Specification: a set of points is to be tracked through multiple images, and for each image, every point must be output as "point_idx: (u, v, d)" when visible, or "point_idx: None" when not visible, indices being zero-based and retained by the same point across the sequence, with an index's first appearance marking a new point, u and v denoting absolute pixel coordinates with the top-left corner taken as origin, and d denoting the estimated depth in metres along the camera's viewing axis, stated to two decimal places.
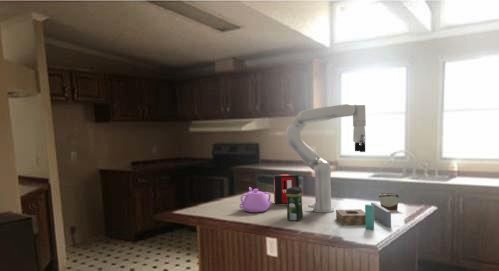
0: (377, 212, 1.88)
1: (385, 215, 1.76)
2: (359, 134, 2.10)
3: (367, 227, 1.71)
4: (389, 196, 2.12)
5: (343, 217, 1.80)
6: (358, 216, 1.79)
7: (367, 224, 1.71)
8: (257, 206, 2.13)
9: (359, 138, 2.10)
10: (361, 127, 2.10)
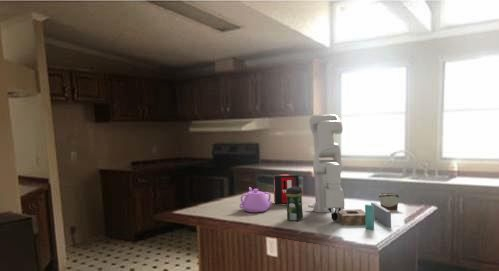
0: (377, 212, 1.88)
1: (385, 215, 1.76)
2: (343, 198, 1.85)
3: (367, 227, 1.71)
4: (389, 196, 2.12)
5: (343, 217, 1.80)
6: (358, 216, 1.79)
7: (367, 224, 1.71)
8: (257, 206, 2.13)
9: None
10: None
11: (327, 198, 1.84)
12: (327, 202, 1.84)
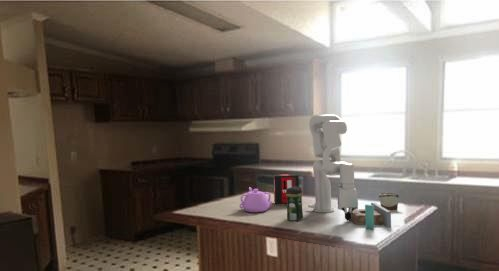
0: None
1: (385, 215, 1.76)
2: (357, 198, 1.84)
3: (367, 227, 1.71)
4: (389, 196, 2.12)
5: (357, 217, 1.79)
6: None
7: (367, 224, 1.71)
8: (257, 206, 2.13)
9: (357, 203, 1.84)
10: None
11: (340, 198, 1.84)
12: (340, 202, 1.84)
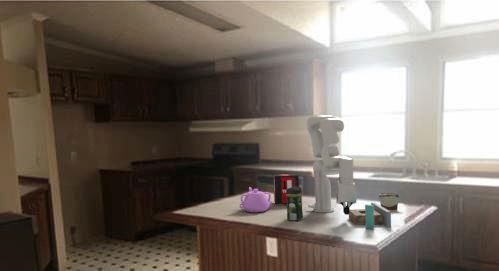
0: None
1: (385, 215, 1.76)
2: None
3: (367, 227, 1.71)
4: (389, 196, 2.12)
5: (357, 217, 1.79)
6: None
7: (367, 224, 1.71)
8: (257, 206, 2.13)
9: (356, 197, 1.85)
10: None
11: (340, 192, 1.84)
12: (340, 196, 1.84)
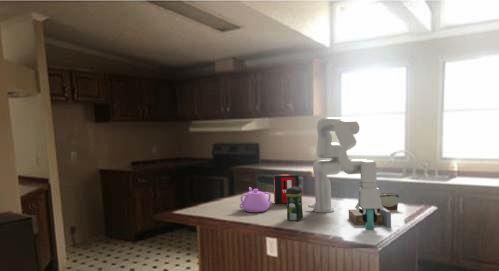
0: None
1: (385, 215, 1.76)
2: None
3: (367, 227, 1.71)
4: (389, 196, 2.12)
5: (357, 217, 1.79)
6: None
7: (367, 224, 1.71)
8: (257, 206, 2.13)
9: None
10: None
11: (362, 198, 1.70)
12: (362, 202, 1.70)
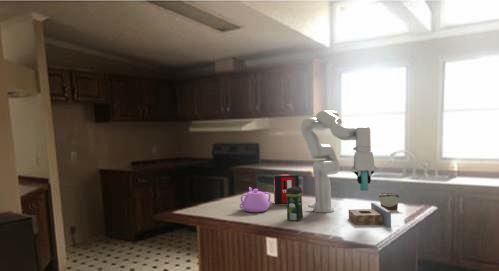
0: None
1: (385, 215, 1.76)
2: (373, 161, 1.84)
3: (362, 188, 1.85)
4: (389, 196, 2.12)
5: (357, 217, 1.79)
6: (372, 216, 1.79)
7: (362, 185, 1.85)
8: (257, 206, 2.13)
9: None
10: None
11: (357, 161, 1.84)
12: (357, 165, 1.84)
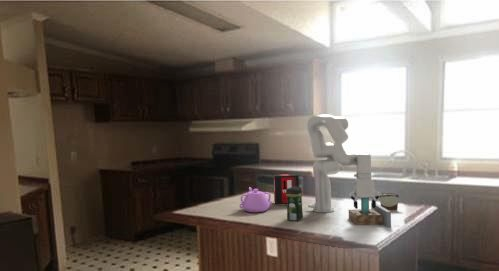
0: None
1: (385, 215, 1.76)
2: (374, 188, 1.84)
3: None
4: (389, 196, 2.12)
5: (357, 217, 1.79)
6: (372, 216, 1.79)
7: None
8: (257, 206, 2.13)
9: None
10: None
11: (358, 188, 1.84)
12: (358, 192, 1.84)
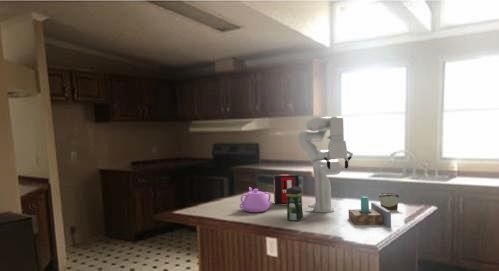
0: None
1: (385, 215, 1.76)
2: (346, 149, 1.94)
3: None
4: (389, 196, 2.12)
5: (357, 217, 1.79)
6: (372, 216, 1.79)
7: None
8: (257, 206, 2.13)
9: None
10: None
11: (331, 149, 1.93)
12: (331, 153, 1.93)
